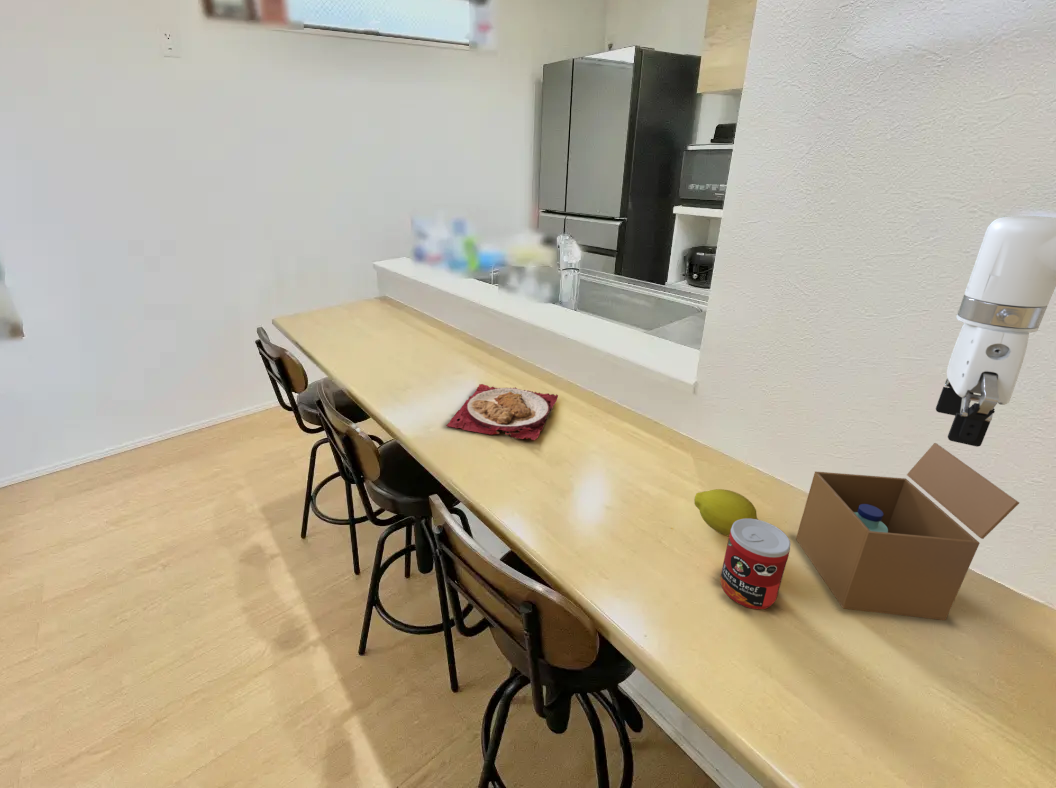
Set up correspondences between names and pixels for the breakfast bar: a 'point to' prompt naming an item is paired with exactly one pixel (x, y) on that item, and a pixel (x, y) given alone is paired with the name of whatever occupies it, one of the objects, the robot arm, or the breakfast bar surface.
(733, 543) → the canned food
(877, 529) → the bottle
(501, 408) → the plate with food
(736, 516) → the lemon
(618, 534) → the breakfast bar surface
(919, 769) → the breakfast bar surface
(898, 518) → the carton
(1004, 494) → the flap
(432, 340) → the breakfast bar surface
